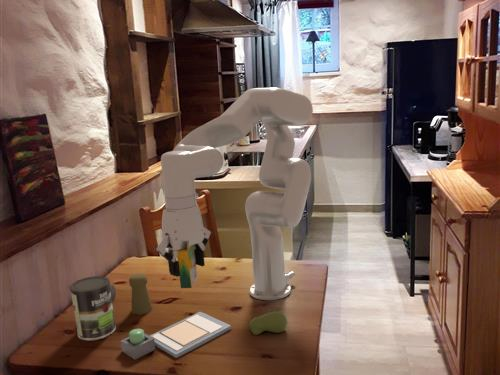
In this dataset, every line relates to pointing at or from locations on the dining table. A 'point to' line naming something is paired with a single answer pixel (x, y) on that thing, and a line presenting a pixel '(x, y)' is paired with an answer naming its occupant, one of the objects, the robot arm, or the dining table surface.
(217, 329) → the grey white rectangular board
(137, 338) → the button
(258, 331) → the pear
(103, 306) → the coffee can
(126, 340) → the button housing
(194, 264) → the crayon box
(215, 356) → the dining table surface
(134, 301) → the cork
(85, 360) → the dining table surface
